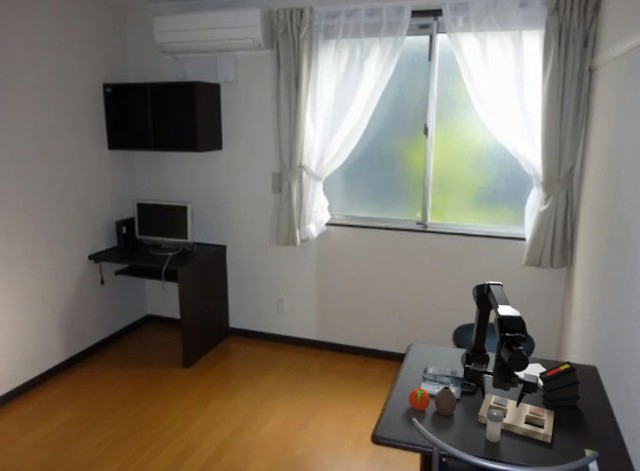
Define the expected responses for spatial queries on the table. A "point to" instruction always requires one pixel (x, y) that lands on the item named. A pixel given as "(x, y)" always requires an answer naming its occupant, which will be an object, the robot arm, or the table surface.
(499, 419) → the plug
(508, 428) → the socket board
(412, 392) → the clementine
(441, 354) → the table surface
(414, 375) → the table surface
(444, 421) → the table surface
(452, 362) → the table surface
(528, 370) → the mounting plate
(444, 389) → the vase
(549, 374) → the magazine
